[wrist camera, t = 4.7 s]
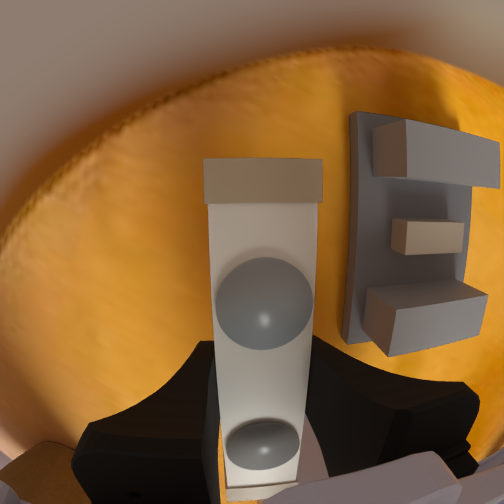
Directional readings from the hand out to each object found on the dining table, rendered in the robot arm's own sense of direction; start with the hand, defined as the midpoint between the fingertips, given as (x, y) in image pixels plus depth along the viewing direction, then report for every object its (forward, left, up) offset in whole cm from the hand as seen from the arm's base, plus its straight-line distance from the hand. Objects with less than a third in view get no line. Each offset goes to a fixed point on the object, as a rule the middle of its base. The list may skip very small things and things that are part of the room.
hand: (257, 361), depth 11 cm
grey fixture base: (+12, +4, -8) cm, 15 cm away
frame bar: (0, 0, -2) cm, 2 cm away
